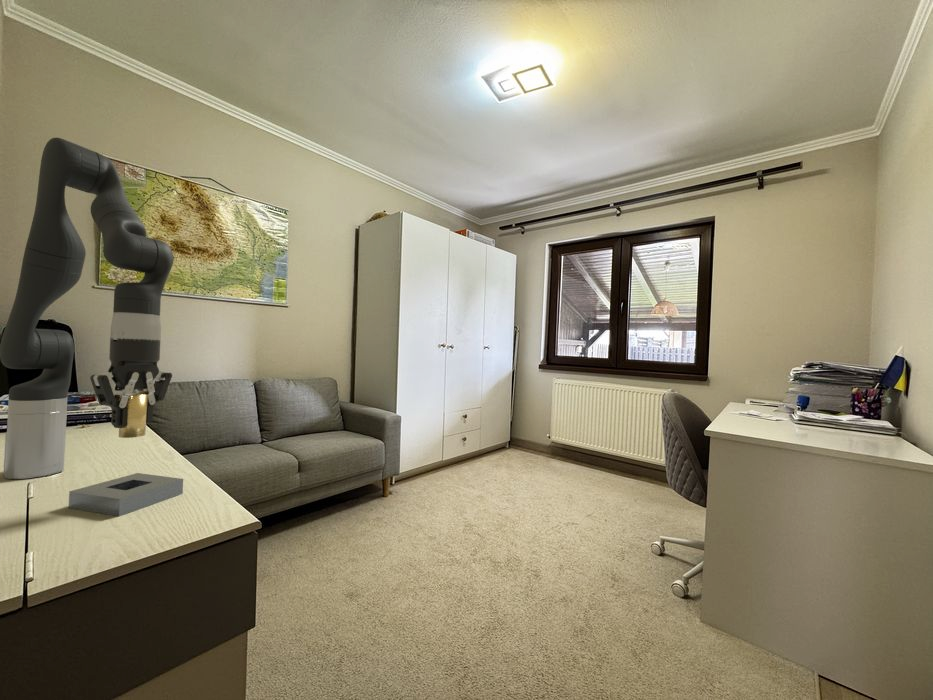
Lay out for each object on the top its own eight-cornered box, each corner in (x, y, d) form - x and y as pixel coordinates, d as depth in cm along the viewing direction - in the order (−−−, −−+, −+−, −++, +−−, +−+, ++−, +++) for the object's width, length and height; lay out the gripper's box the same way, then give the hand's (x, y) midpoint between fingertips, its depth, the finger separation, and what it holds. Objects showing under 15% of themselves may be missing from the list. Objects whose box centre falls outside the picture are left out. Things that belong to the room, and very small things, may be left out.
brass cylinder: (112, 436, 75) (115, 394, 75) (134, 432, 79) (137, 392, 79) (129, 438, 74) (131, 396, 74) (150, 434, 78) (153, 394, 78)
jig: (68, 507, 72) (69, 491, 72) (137, 487, 84) (137, 472, 84) (119, 516, 69) (119, 499, 69) (182, 493, 81) (183, 478, 81)
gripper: (157, 339, 85) (153, 419, 84) (78, 335, 71) (74, 430, 71) (185, 339, 83) (181, 421, 83) (110, 335, 69) (106, 433, 69)
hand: (132, 425), depth 77 cm, fingers closed on brass cylinder, 4 cm apart
